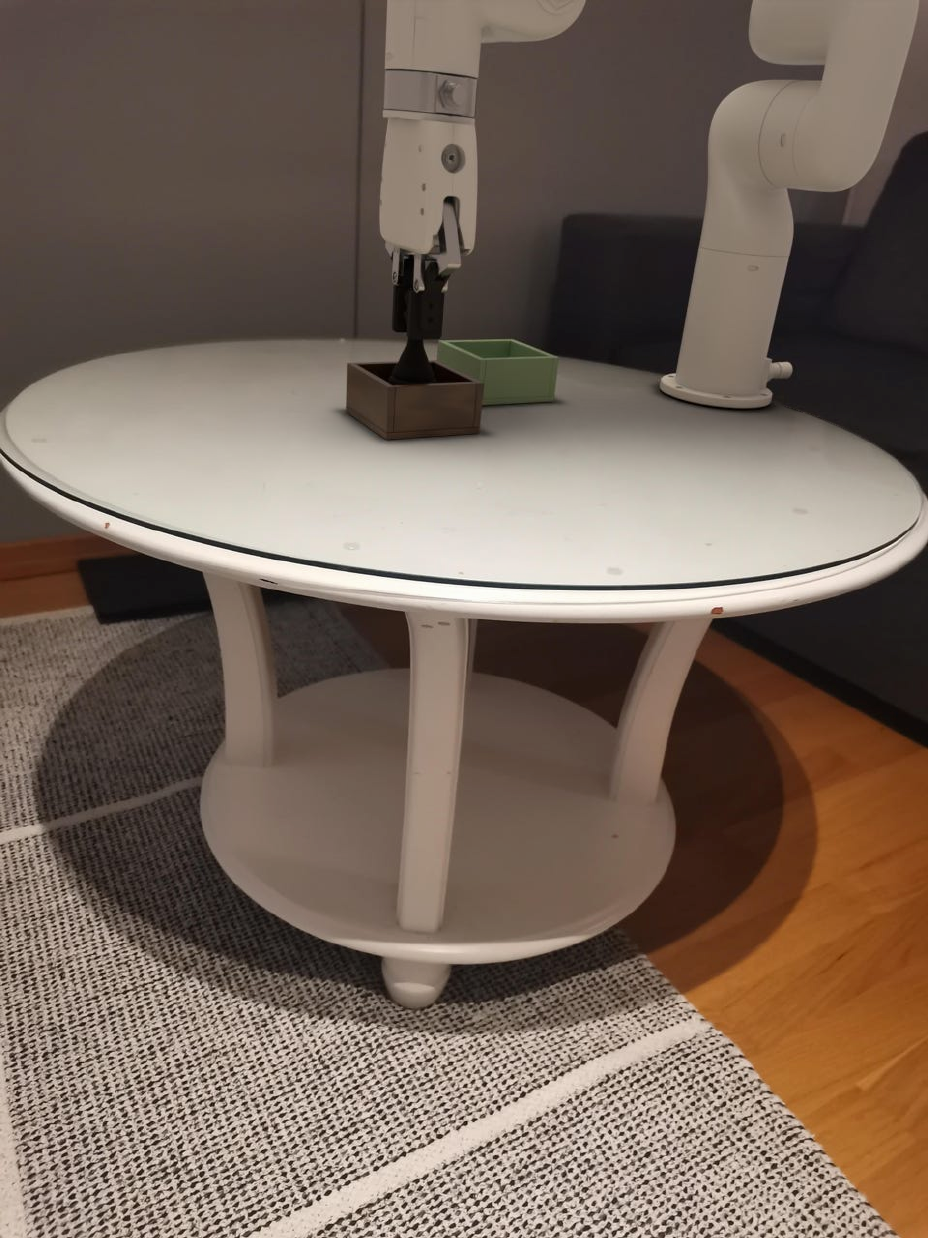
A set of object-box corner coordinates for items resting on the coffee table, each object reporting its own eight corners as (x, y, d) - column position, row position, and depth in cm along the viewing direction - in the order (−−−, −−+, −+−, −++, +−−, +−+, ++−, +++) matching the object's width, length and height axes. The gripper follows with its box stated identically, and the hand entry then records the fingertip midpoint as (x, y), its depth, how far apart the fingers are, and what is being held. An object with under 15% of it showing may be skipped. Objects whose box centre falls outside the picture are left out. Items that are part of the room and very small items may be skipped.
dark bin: (434, 406, 94) (437, 359, 92) (479, 433, 86) (484, 383, 84) (345, 411, 89) (346, 362, 87) (385, 439, 82) (388, 387, 80)
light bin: (508, 380, 107) (512, 338, 105) (553, 401, 100) (559, 357, 98) (434, 383, 103) (437, 340, 100) (476, 405, 95) (480, 359, 93)
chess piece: (384, 386, 84) (390, 269, 80) (393, 376, 88) (398, 263, 84) (433, 392, 84) (441, 274, 80) (439, 381, 88) (447, 268, 84)
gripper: (520, 107, 71) (497, 353, 80) (427, 105, 84) (415, 318, 92) (432, 97, 68) (417, 355, 76) (349, 96, 80) (343, 318, 89)
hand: (416, 333), depth 84 cm, fingers closed on chess piece, 2 cm apart
